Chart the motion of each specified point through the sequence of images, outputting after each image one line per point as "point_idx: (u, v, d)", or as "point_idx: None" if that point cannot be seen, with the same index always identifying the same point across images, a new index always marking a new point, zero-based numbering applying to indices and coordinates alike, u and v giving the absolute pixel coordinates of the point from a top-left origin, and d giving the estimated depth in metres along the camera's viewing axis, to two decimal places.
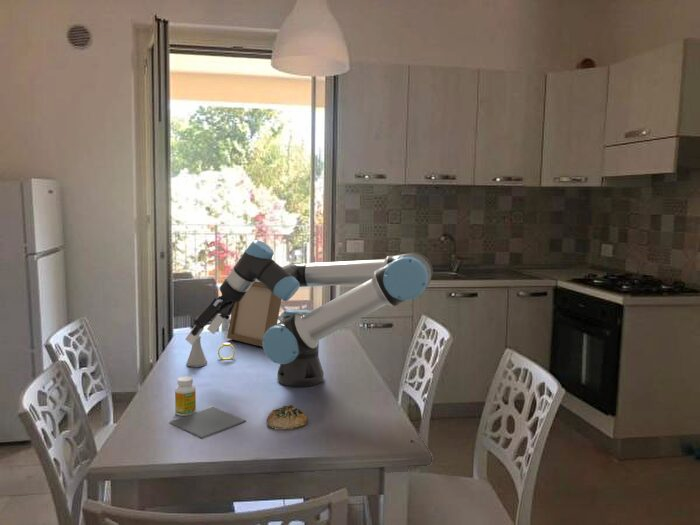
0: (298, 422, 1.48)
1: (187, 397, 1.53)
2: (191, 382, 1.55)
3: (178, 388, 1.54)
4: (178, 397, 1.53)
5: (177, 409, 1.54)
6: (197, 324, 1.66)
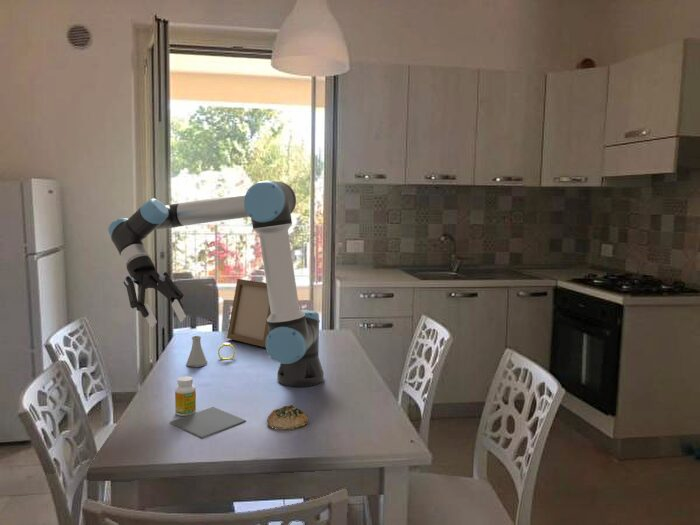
0: (299, 422, 1.48)
1: (187, 397, 1.53)
2: (191, 382, 1.55)
3: (178, 388, 1.54)
4: (178, 397, 1.53)
5: (177, 409, 1.54)
6: (132, 303, 1.61)
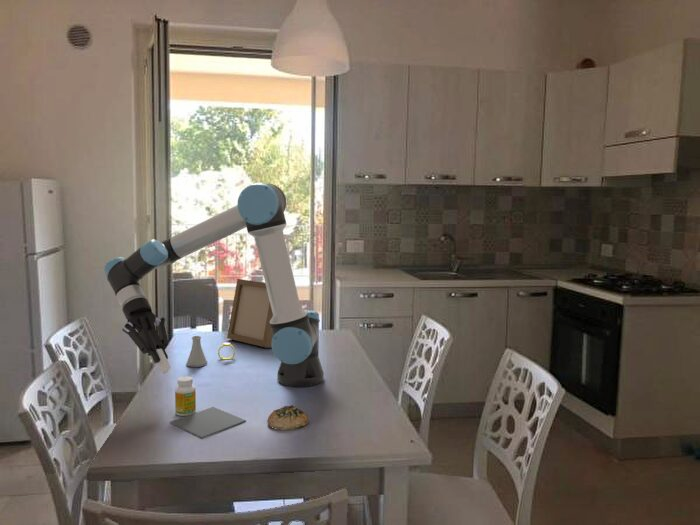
0: (299, 422, 1.48)
1: (187, 397, 1.53)
2: (191, 382, 1.55)
3: (178, 388, 1.54)
4: (178, 397, 1.53)
5: (177, 409, 1.54)
6: (143, 349, 1.60)
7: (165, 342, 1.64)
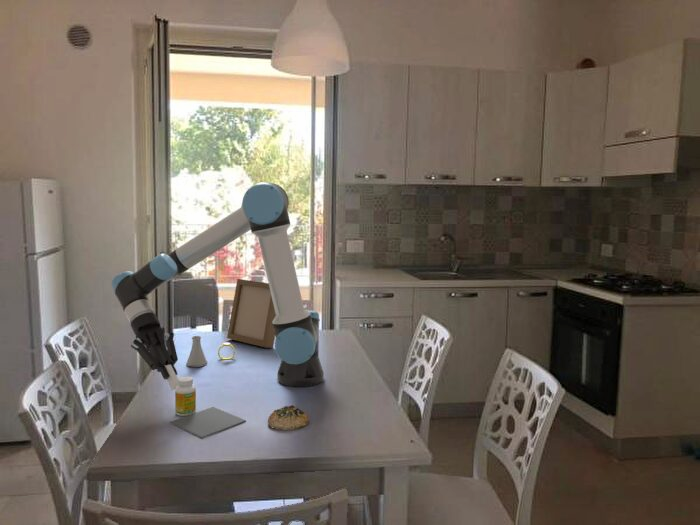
0: (300, 422, 1.48)
1: (187, 397, 1.53)
2: (191, 382, 1.54)
3: (178, 388, 1.53)
4: (179, 397, 1.53)
5: (177, 409, 1.54)
6: (152, 365, 1.57)
7: (174, 358, 1.62)
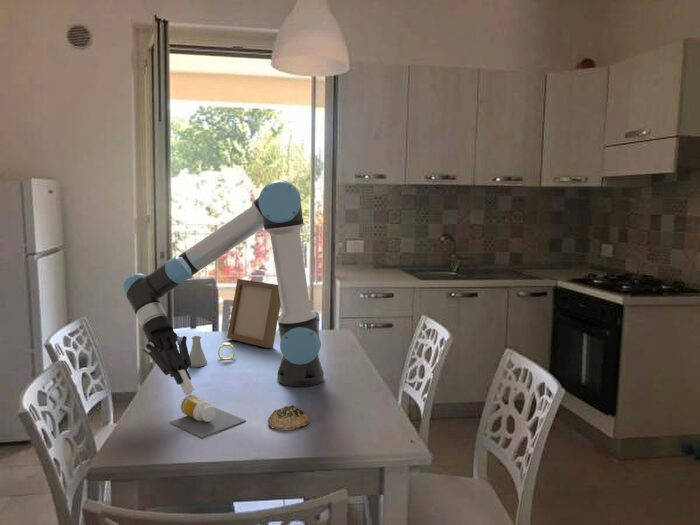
0: (300, 422, 1.47)
1: None
2: None
3: (197, 415, 1.47)
4: (191, 416, 1.49)
5: (183, 411, 1.51)
6: (166, 370, 1.53)
7: (187, 362, 1.58)
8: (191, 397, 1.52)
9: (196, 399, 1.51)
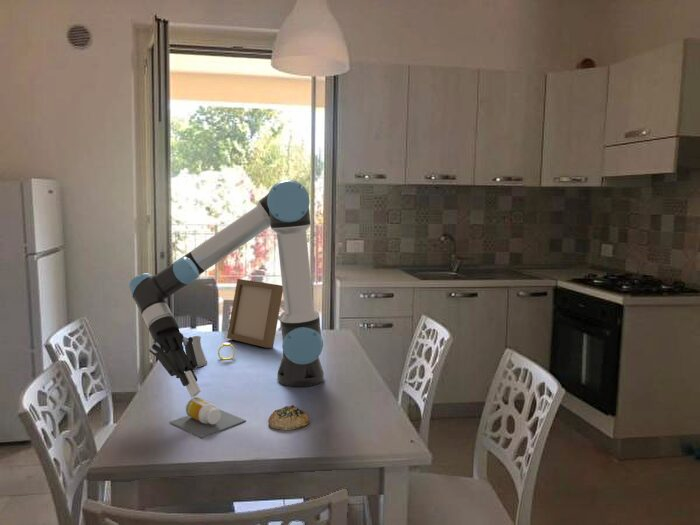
0: (300, 422, 1.47)
1: None
2: None
3: (202, 418, 1.46)
4: (196, 418, 1.47)
5: (188, 413, 1.49)
6: (171, 372, 1.52)
7: (194, 363, 1.56)
8: (196, 399, 1.50)
9: (201, 401, 1.49)
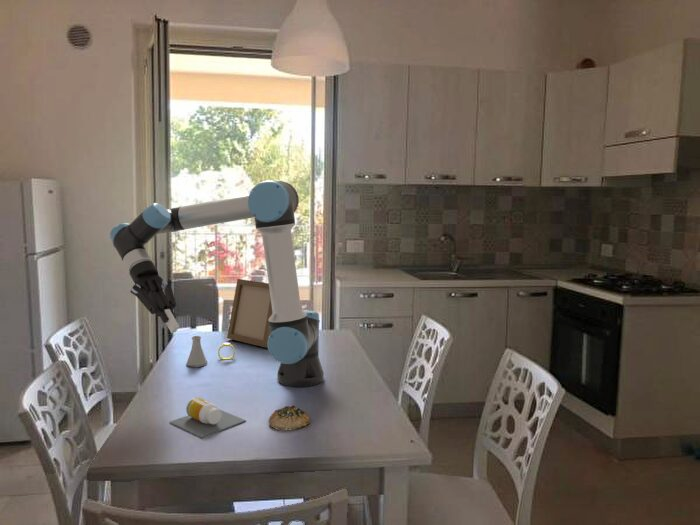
0: (301, 422, 1.47)
1: None
2: None
3: (203, 417, 1.46)
4: (197, 418, 1.47)
5: (189, 412, 1.49)
6: (152, 309, 1.62)
7: (173, 303, 1.67)
8: (197, 399, 1.51)
9: (202, 401, 1.49)
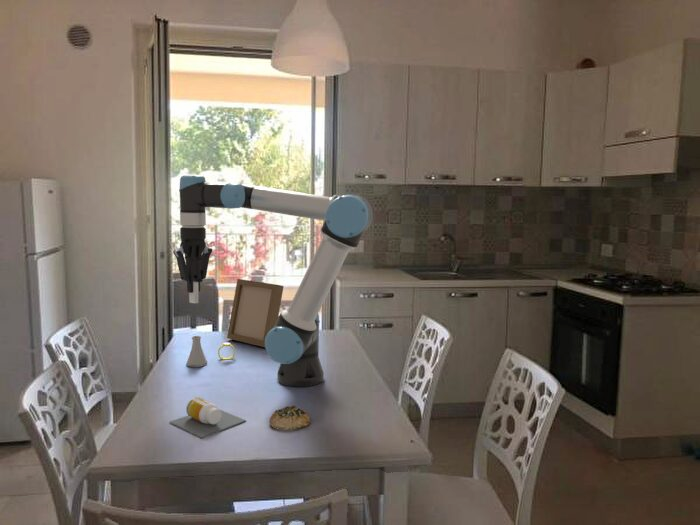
0: (301, 422, 1.47)
1: None
2: None
3: (203, 417, 1.46)
4: (197, 418, 1.47)
5: (189, 412, 1.49)
6: (183, 278, 1.71)
7: (203, 276, 1.76)
8: (197, 399, 1.51)
9: (202, 401, 1.49)
